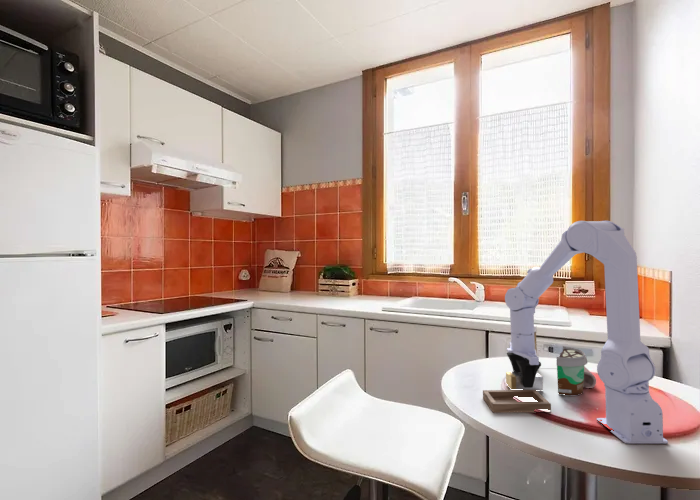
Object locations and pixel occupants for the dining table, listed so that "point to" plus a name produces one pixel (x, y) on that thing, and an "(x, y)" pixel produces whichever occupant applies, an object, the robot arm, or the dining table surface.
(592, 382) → the coil
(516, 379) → the white yellow block
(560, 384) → the food container
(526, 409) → the wooden tray
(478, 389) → the dining table surface
